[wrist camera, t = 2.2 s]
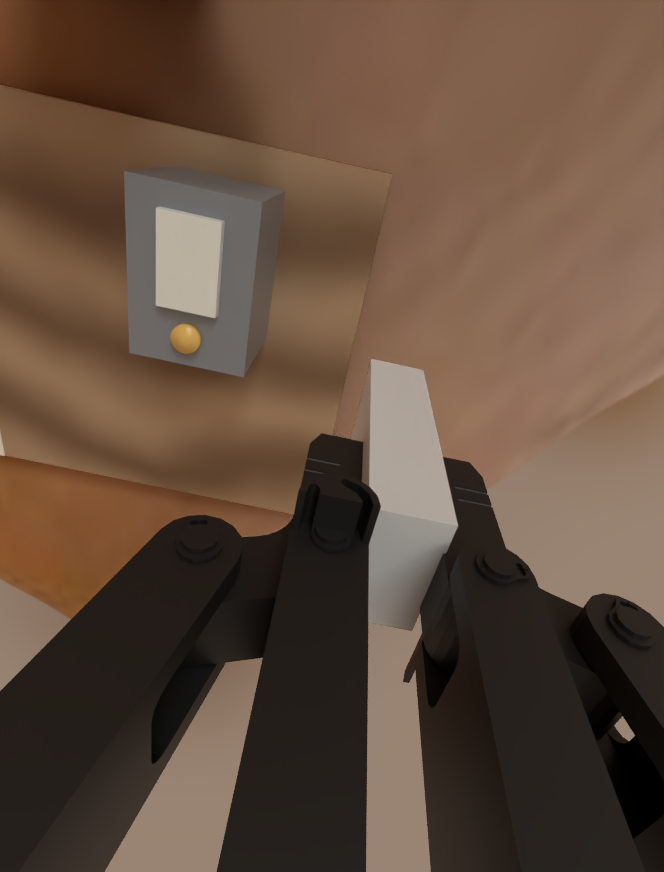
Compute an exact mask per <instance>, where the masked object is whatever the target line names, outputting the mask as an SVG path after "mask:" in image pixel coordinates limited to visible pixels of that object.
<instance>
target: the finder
mask: <svg viewBox="0 0 664 872" xmlns="http://www.w3.org/2000/svg"><path fill="white" fill-rule="evenodd" d="M124 189H125V223H126V257H127V290H128V324H129V353H132V354H137V355H142V356H146V357H151V358H156V359H161V360H165V361H170V362H175V363H179V364H184V365H189V366H193V367H198V368H203V369H207V370H212V371H217V372H222V373H226V374H231V375H236V376H240V377H244V376H245V374H246V372H247V371H248V369H249V367H250V365H251V364H252V362H253V360H254V358H255V357H256V355H257V353H258V352H259V350H260V348H261V346H262V345H263V343H264V341H265V339H266V337H267V330H268V322H269V314H270V306H271V299H272V291H273V283H274V275H275V268H276V260H277V252H278V244H279V237H280V229H281V221H282V213H283V206H284V198H285V190H281V189H276V188H272V187H267V186H263V185H258V184H254V183H250V182H245V181H241V180H236V179H232V178H227V177H223V176H219V175H214V174H210V173H205V172H201V171H197V170H192V169H188V168H183V167H179V166H166V167H156V168H147V169H138V170H128V171H124Z"/></svg>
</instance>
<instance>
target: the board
mask: <svg viewBox="0 0 664 872" xmlns="http://www.w3.org/2000/svg"><path fill="white" fill-rule="evenodd" d="M166 166H179V167H183V168H188V169H192V170H197V171H201V172H205V173H210V174H214V175H219V176H223V177H227V178H232V179H236V180H241V181H245V182H250V183H254V184H258V185H263V186H267V187H272V188H276V189H281V190H285V198H284V206H283V213H282V221H281V229H280V237H279V244H278V252H277V260H276V268H275V275H274V283H273V291H272V299H271V306H270V314H269V322H268V330H267V337H266V339H265V341H264V343H263V345H262V346H261V348H260V350H259V352H258V353H257V355H256V357H255V358H254V360H253V362H252V364H251V365H250V367H249V369H248V371H247V372H246V374H245V376H244V377H240V376H236V375H231V374H226V373H222V372H217V371H212V370H207V369H203V368H198V367H193V366H189V365H184V364H179V363H175V362H170V361H165V360H161V359H156V358H151V357H146V356H142V355H137V354H132V353H129V324H128V290H127V257H126V223H125V189H124V171H128V170H138V169H147V168H156V167H166ZM391 179H392V174H389V173H384V172H380V171H376V170H371V169H367V168H363V167H358V166H354V165H349V164H345V163H341V162H336V161H332V160H328V159H323V158H319V157H314V156H310V155H306V154H301V153H297V152H293V151H288V150H284V149H279V148H275V147H271V146H266V145H262V144H258V143H253V142H249V141H244V140H240V139H236V138H231V137H227V136H223V135H218V134H214V133H210V132H205V131H201V130H196V129H192V128H188V127H183V126H179V125H175V124H170V123H166V122H161V121H157V120H153V119H148V118H144V117H140V116H135V115H131V114H126V113H122V112H118V111H113V110H109V109H105V108H100V107H96V106H91V105H87V104H83V103H78V102H74V101H70V100H65V99H61V98H57V97H52V96H48V95H43V94H39V93H35V92H30V91H26V90H22V89H17V88H13V87H8V86H4V85H0V455H2V456H10V457H15V458H20V459H25V460H30V461H35V462H39V463H44V464H49V465H54V466H59V467H64V468H69V469H74V470H79V471H83V472H88V473H93V474H98V475H103V476H108V477H113V478H118V479H122V480H127V481H132V482H137V483H142V484H147V485H152V486H157V487H162V488H166V489H171V490H176V491H181V492H186V493H191V494H196V495H201V496H205V497H210V498H215V499H220V500H225V501H230V502H235V503H240V504H244V505H249V506H254V507H259V508H264V509H269V510H274V511H279V512H284V513H288V514H293V515H294V511H295V506H296V501H297V496H298V491H299V489H300V487H301V482H302V478H303V473H304V469H305V464H306V460H307V455H308V451H309V446H310V443H311V442H312V441H313V440H314V439H315V438H317V437H318V436H319V435H320V434H321V433H323V434H328V435H333V430H334V426H335V422H336V417H337V413H338V409H339V404H340V400H341V396H342V391H343V387H344V383H345V378H346V374H347V370H348V365H349V361H350V357H351V352H352V348H353V344H354V340H355V335H356V331H357V327H358V322H359V318H360V314H361V309H362V305H363V301H364V296H365V292H366V288H367V283H368V279H369V275H370V270H371V266H372V262H373V257H374V253H375V249H376V244H377V240H378V236H379V231H380V227H381V223H382V218H383V214H384V210H385V205H386V201H387V197H388V192H389V188H390V184H391Z"/></svg>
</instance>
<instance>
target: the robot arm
mask: <svg viewBox="0 0 664 872" xmlns="http://www.w3.org/2000/svg"><path fill="white" fill-rule="evenodd" d="M419 614H420V615H421V624H422V635H421V637H420V639H419V641H418V643H417V646H416V648H415V650H414V652H413V655H412V657H411V659H410V661H409V663H408V665H407V668H406V670H405V674H404V680H403V682H407V683H409V682H410V680H411V678H412V676H413V673H414V671H415V669H416V682H417V696H418V709H419V722H420V733H421V734H420V735H421V748H422V761H423V771H424V772H423V774H424V787H425V800H426V812H427V826H428V839H429V850H430V851H429V852H430V865H431V872H664V627H663V626H662V625H661V624H660V623H659V622H658V621H657V620H656V619H655V618H654V617H653V616H651V614H650V613H648V612H647V611H645V610H644V609H642V608H641V607H639V606H638V605H636V604H635V603H633V602H631V601H628V600H626V599H624V598H621V597H619V596H615V595H609V594H599V595H594V596H592V597H591V598H590V599H589V601H588V602H587V603H586V605H585V606H584V608H581V607H579V606H577V605H575V604H572V603H570V602H568V601H566V600H564V599H561V598H559V597H557V596H555V595H552V594H550V593H548V592H546V591H544V590H542V589H540V588H539V587H538V584H537V581H536V579H535V577H534V575H533V573H532V571H531V570H530V568H529V566H528V565H527V564H526V563H525V562H524V561H523V560H522V559H520V558H519V557H518V556H517V555H516V554H514V553H512V552H511V551H509V550H507V549H506V547H505V544H504V541H503V538H502V535H501V532H500V529H499V526H498V523H497V520H496V518H495V514H494V511H493V508H492V507H491V502H490V499H489V496H488V495H487V490H486V487H485V484H484V481H483V478H482V476H481V475H480V474H479V473H478V472H477V471H476V469H475V468H474V467H473V466H472V465H471V464H470V463H469V462H465V461H460V460H455V459H450V458H445V457H443V456H442V452H441V447H440V443H439V438H438V434H437V429H436V425H435V421H434V416H433V412H432V407H431V403H430V398H429V394H428V389H427V385H426V380H425V376H424V371H423V370H421V369H416V368H412V367H407V366H402V365H398V364H393V363H388V362H384V361H379V360H374V359H371V361H370V365H369V369H368V373H367V377H366V381H365V385H364V389H363V393H362V397H361V401H360V404H359V408H358V412H357V416H356V420H355V424H354V428H353V432H352V436H351V439H347V438H342V437H337V436H332V435H328V434H323V433H321V434H320V435H319V436H318V437H317V438H315V439H314V440H313V441H312V442H311V443H310V446H309V451H308V455H307V460H306V464H305V469H304V473H303V478H302V482H301V487H300V489H299V491H298V496H297V501H296V506H295V511H294V516H293V518H292V520H291V521H290V522H289V524H288V525H287V526H286V527H284V528H282V529H281V530H279V531H277V532H275V533H272V534H269V535H263V536H256V537H241V536H240V534H239V533H238V532H237V530H236V529H235V528H234V527H233V526H232V525H230V524H229V523H227V522H225V521H224V520H222V519H220V518H215V517H211V516H207V515H197V516H186V517H183V518H180V519H177V520H173V521H172V522H170V523H169V524H168V525H166V526H165V527H163V528H162V529H161V530H160V531H159V532H158V533H157V534H156V535H155V536H154V537H153V538H152V539H151V540H150V541H149V542H148V543H147V544H146V545H145V546H144V547H143V548H142V549H141V550H140V551H139V552H138V553H137V554H136V555H135V556H134V557H133V558H132V559H131V560H130V561H129V562H128V563H127V564H126V565H125V566H124V567H123V568H122V569H121V570H120V571H119V572H118V573H117V574H116V575H115V576H114V577H113V578H112V579H111V580H110V581H109V582H108V583H107V584H106V585H105V586H104V587H103V588H102V589H101V590H100V591H99V592H98V593H97V594H96V595H95V596H94V597H93V598H92V599H91V600H90V601H89V602H88V603H87V604H86V605H85V606H84V607H83V608H82V609H81V610H80V611H79V612H78V613H77V614H76V615H75V616H74V617H73V618H72V619H71V620H70V622H68V623H67V625H66V626H64V627H63V629H62V630H61V631H60V632H59V633H58V634H57V635H56V636H55V637H54V638H53V639H52V640H51V641H50V642H49V643H48V644H47V645H46V646H45V647H44V648H43V649H42V650H41V651H40V652H39V653H38V654H37V655H36V656H35V657H34V658H33V659H32V660H31V661H30V662H29V663H28V664H27V665H26V666H25V667H24V668H23V669H22V670H21V671H20V672H19V673H18V674H17V675H16V676H15V677H14V678H13V679H12V680H11V681H10V682H9V683H8V684H7V685H6V686H5V687H4V688H3V689H2V690H1V691H0V872H105V870H106V868H107V866H108V864H109V863H110V861H111V859H112V858H113V856H114V854H115V852H116V851H117V849H118V847H119V846H120V844H121V842H122V841H123V839H124V837H125V835H126V834H127V832H128V830H129V828H130V827H131V825H132V823H133V821H134V820H135V818H136V816H137V815H138V813H139V811H140V809H141V808H142V806H143V804H144V802H145V801H146V799H147V798H148V795H149V794H150V792H151V790H152V789H153V787H154V785H155V784H156V782H157V780H158V779H159V777H160V775H161V773H162V772H163V770H164V768H165V767H166V765H167V763H168V761H169V760H170V758H171V756H172V754H173V753H174V751H175V749H176V748H177V746H178V744H179V742H180V741H181V739H182V737H183V735H184V734H185V732H186V730H187V729H188V727H189V725H190V723H191V722H192V720H193V718H194V717H195V715H196V713H197V711H198V710H199V708H200V706H201V705H202V703H203V701H204V699H205V698H206V696H207V694H208V692H209V691H210V689H211V687H212V685H213V684H214V682H215V680H216V679H217V677H218V675H219V673H220V672H221V670H222V668H223V667H224V665H225V662H232V661H240V660H247V659H255V658H263V660H262V665H261V669H260V674H259V679H258V683H257V688H256V693H255V698H254V702H253V706H252V711H251V716H250V720H249V725H248V730H247V734H246V739H245V744H244V748H243V753H242V757H241V762H240V766H239V771H238V776H237V780H236V785H235V790H234V794H233V799H232V803H231V808H230V813H229V818H228V822H227V827H226V831H225V836H224V840H223V845H222V850H221V854H220V859H219V864H218V868H217V872H366V805H367V803H366V801H367V800H366V799H367V795H366V794H367V698H368V697H367V696H368V693H367V692H368V622H369V623H374V624H379V625H385V626H389V627H394V628H400V629H405V630H410V631H412V630H413V627H414V625H415V623H416V621H417V618H418V616H419ZM622 716H623V717H624V719H625V720H626V722H627V723H628V725H629V727H630V728H631V730H632V731H633V732H634V734H635V736H634V738H632V739H631V740H630V741H628V740H626V739H625V738H623V737H622V736H621V734H620V733H619V732H618V731H617V730H616V728H615V727H614V725H615V724H616V722H618V721H619V719H620V718H621V717H622Z"/></svg>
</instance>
